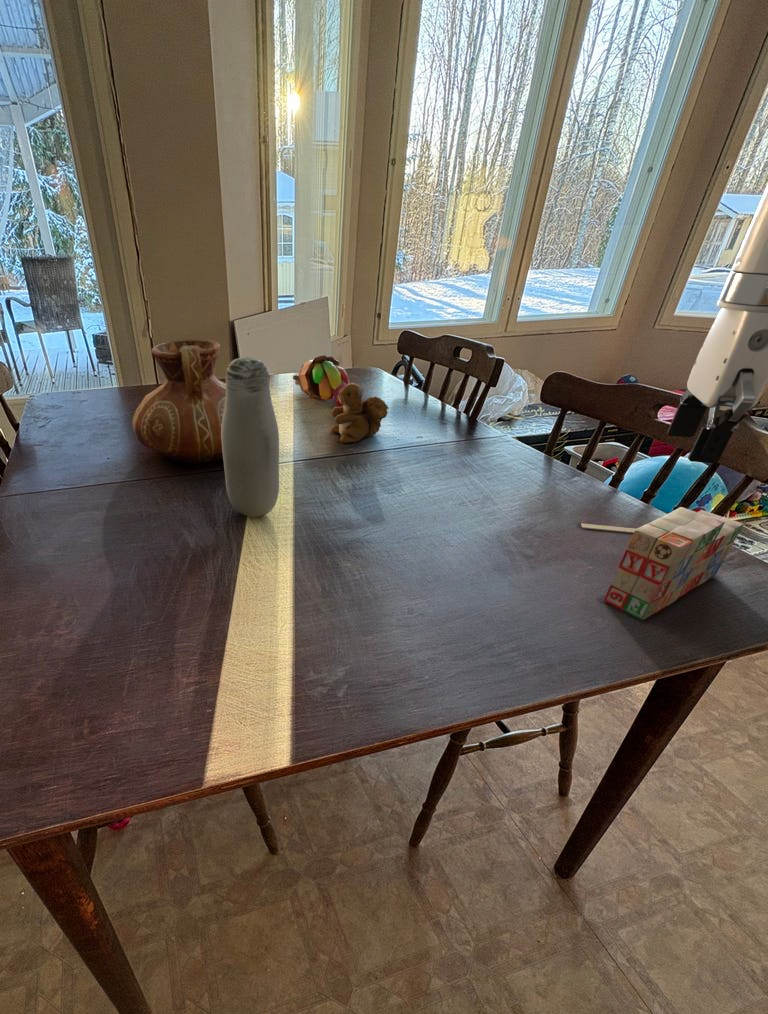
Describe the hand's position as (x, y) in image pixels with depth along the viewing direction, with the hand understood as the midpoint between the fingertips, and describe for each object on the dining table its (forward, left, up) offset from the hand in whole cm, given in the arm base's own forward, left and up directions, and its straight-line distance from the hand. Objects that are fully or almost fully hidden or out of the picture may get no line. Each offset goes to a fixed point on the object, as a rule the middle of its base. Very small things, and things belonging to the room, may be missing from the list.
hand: (690, 448), depth 69 cm
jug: (+90, -45, -22) cm, 103 cm away
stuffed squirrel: (+52, -63, -22) cm, 85 cm away
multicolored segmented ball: (+69, -98, -22) cm, 122 cm away
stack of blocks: (-6, -2, -22) cm, 23 cm away
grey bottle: (+65, -13, -22) cm, 70 cm away
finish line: (-6, -21, -22) cm, 31 cm away
